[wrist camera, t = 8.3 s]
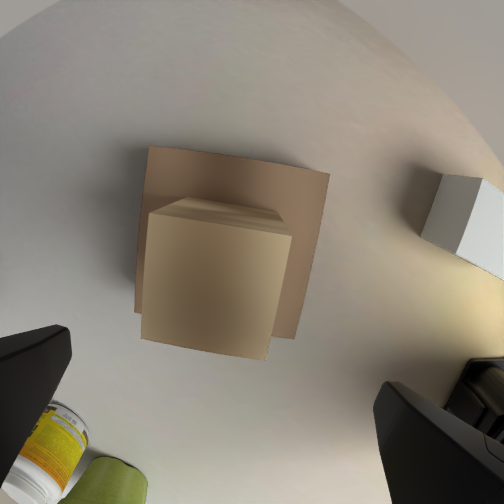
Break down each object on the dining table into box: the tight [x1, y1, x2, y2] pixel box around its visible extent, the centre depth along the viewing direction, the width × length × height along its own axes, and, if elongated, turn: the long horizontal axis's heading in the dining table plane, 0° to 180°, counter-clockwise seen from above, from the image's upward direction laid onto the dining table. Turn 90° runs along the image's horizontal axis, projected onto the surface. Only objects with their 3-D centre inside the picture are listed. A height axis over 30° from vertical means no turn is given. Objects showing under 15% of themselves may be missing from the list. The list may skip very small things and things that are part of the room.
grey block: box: [420, 174, 504, 281], centre depth 17 cm, size 4×4×6 cm
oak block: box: [141, 197, 292, 361], centre depth 13 cm, size 4×4×6 cm
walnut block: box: [134, 146, 330, 339], centre depth 18 cm, size 9×9×3 cm
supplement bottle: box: [1, 404, 89, 504], centre depth 19 cm, size 6×6×10 cm
